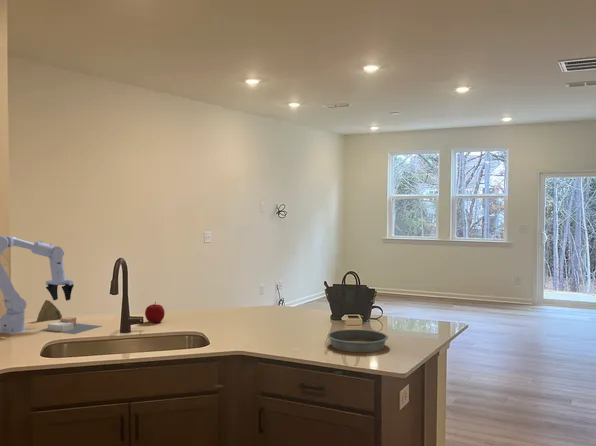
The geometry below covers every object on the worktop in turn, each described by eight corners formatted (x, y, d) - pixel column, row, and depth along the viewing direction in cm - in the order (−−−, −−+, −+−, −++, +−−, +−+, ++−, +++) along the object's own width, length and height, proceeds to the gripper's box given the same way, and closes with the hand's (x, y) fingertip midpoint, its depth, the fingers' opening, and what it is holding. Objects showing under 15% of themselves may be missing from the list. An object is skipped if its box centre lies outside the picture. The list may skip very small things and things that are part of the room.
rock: (68, 314, 279) (52, 310, 283) (62, 302, 274) (46, 298, 277) (54, 330, 272) (38, 326, 275) (47, 318, 266) (31, 314, 270)
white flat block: (63, 331, 248) (63, 325, 248) (47, 329, 251) (47, 323, 251) (73, 328, 253) (73, 322, 253) (57, 327, 256) (57, 321, 256)
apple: (167, 320, 277) (167, 300, 277) (160, 324, 268) (160, 303, 268) (149, 319, 278) (149, 299, 278) (142, 323, 269) (142, 302, 269)
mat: (74, 335, 243) (74, 334, 243) (39, 331, 250) (39, 330, 250) (102, 327, 260) (102, 326, 260) (68, 323, 267) (68, 322, 267)
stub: (68, 328, 255) (68, 319, 255) (60, 327, 257) (60, 318, 256) (76, 326, 259) (76, 317, 259) (67, 325, 261) (67, 316, 261)
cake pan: (399, 345, 229) (399, 334, 229) (365, 357, 211) (365, 345, 211) (351, 336, 246) (351, 326, 245) (315, 346, 227) (315, 335, 227)
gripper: (76, 269, 262) (80, 297, 264) (52, 269, 267) (56, 297, 269) (65, 272, 256) (69, 301, 257) (40, 273, 261) (44, 301, 263)
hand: (61, 300), depth 263 cm, fingers open, 7 cm apart
